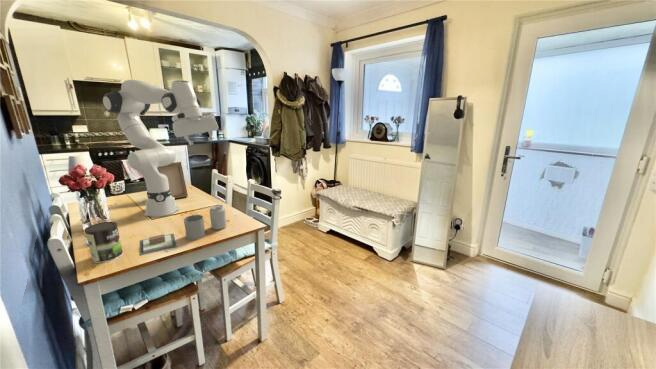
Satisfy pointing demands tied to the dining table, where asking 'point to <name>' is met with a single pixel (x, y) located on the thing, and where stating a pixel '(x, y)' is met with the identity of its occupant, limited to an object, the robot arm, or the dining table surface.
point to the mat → (159, 248)
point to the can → (217, 217)
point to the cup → (194, 227)
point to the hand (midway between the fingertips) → (201, 142)
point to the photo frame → (175, 179)
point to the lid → (157, 242)
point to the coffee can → (104, 241)
